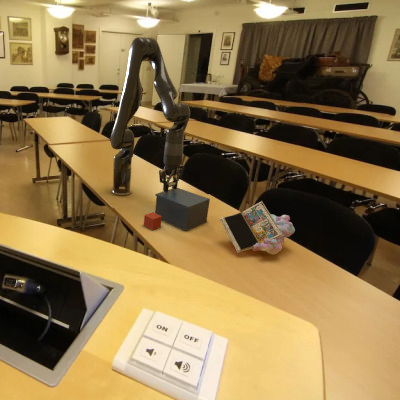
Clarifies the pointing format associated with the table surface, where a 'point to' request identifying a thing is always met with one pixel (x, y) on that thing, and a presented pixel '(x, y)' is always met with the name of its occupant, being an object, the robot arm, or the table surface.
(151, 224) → the block
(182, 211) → the hinged navy chest
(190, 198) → the lid
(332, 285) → the table surface
